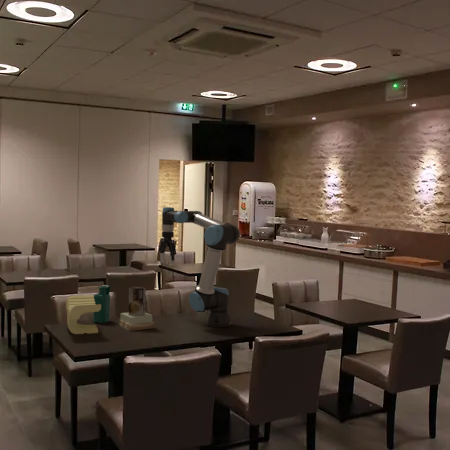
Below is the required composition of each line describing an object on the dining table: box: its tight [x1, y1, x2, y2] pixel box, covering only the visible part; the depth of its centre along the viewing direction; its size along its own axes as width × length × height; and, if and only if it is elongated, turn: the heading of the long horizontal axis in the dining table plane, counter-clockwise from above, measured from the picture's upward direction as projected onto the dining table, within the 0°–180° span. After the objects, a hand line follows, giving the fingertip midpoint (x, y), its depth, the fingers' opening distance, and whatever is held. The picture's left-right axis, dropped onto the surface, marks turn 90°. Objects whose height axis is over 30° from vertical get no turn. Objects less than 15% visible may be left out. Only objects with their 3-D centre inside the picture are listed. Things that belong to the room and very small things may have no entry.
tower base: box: [118, 318, 155, 332], centre depth 328 cm, size 16×16×4 cm
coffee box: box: [128, 286, 147, 315], centre depth 328 cm, size 9×6×16 cm
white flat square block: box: [119, 311, 153, 324], centre depth 328 cm, size 14×14×4 cm
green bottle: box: [92, 284, 111, 324], centre depth 339 cm, size 10×8×22 cm
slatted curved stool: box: [65, 294, 101, 335], centre depth 314 cm, size 30×16×18 cm, turn 21°
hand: (167, 264), depth 353 cm, fingers open, 13 cm apart
